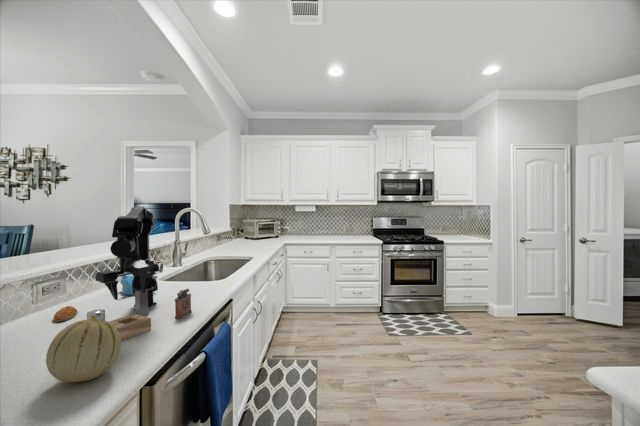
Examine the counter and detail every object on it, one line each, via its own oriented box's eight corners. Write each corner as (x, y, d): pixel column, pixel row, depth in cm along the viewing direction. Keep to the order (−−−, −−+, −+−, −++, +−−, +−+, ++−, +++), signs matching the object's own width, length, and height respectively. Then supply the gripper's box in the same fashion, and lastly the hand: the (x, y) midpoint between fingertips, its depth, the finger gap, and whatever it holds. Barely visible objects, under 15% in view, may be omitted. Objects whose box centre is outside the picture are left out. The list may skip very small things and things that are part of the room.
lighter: (180, 319, 113) (180, 293, 113) (172, 318, 114) (172, 292, 113) (193, 311, 121) (193, 287, 121) (186, 311, 121) (185, 287, 121)
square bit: (135, 316, 116) (134, 291, 116) (143, 313, 119) (143, 289, 119) (140, 317, 115) (139, 292, 115) (148, 314, 118) (147, 290, 117)
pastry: (72, 321, 112) (71, 311, 112) (48, 325, 109) (48, 314, 109) (78, 313, 120) (78, 304, 120) (57, 316, 117) (56, 307, 117)
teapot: (153, 286, 161) (153, 266, 161) (158, 292, 149) (157, 271, 149) (120, 291, 152) (119, 270, 152) (122, 298, 140) (121, 275, 140)
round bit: (84, 329, 104) (83, 312, 104) (100, 324, 108) (100, 308, 108) (91, 332, 101) (91, 315, 101) (108, 327, 106) (107, 310, 106)
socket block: (104, 334, 99) (103, 323, 99) (134, 324, 108) (134, 313, 108) (120, 340, 95) (120, 328, 95) (150, 329, 103) (150, 318, 103)
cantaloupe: (34, 403, 64) (32, 336, 64) (61, 369, 78) (59, 313, 78) (114, 386, 70) (113, 324, 70) (127, 358, 84) (125, 306, 83)
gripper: (112, 258, 91) (113, 308, 92) (168, 250, 108) (168, 292, 108) (94, 255, 97) (95, 302, 97) (149, 247, 113) (150, 287, 114)
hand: (130, 295), depth 104 cm, fingers open, 9 cm apart
